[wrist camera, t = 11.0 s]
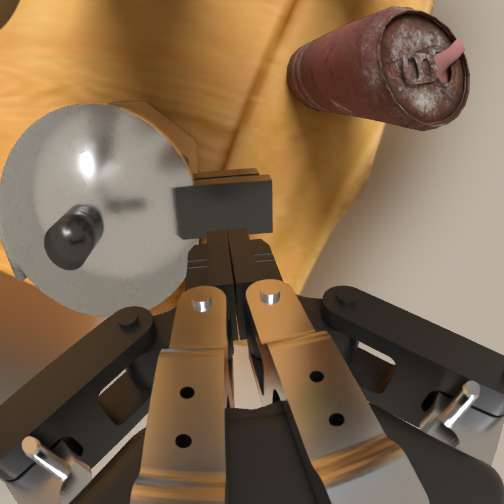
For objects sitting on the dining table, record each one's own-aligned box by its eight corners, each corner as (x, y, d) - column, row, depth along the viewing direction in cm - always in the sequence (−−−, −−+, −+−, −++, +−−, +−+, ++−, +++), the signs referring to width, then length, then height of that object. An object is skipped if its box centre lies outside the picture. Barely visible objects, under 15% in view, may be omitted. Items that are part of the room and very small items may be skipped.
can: (367, 75, 21) (491, 78, 9) (325, 124, 23) (434, 161, 11) (316, 28, 19) (419, -22, 6) (270, 78, 21) (343, 57, 8)
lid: (-16, 139, 12) (-53, 153, 9) (265, 78, 14) (281, 71, 10) (37, 309, 19) (18, 342, 15) (269, 296, 20) (279, 336, 17)
